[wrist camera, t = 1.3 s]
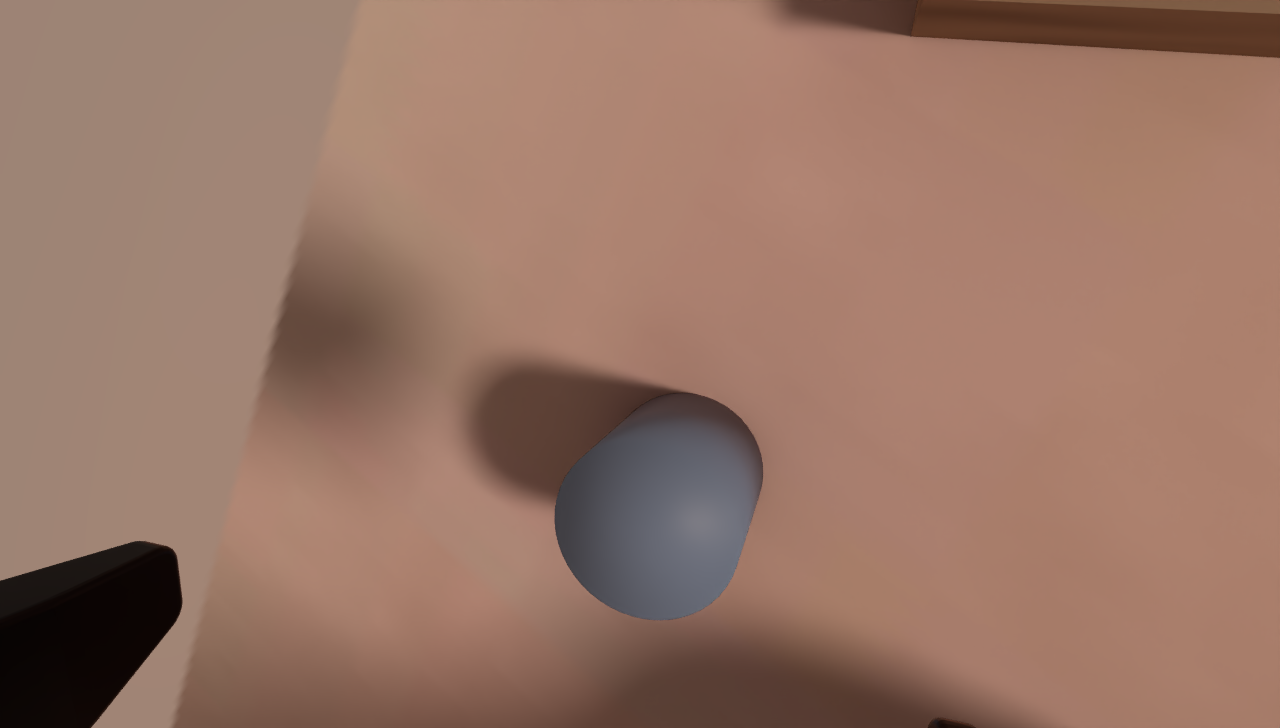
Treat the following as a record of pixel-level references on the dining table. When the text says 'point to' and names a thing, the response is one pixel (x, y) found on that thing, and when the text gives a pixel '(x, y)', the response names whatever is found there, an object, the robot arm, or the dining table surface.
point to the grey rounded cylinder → (661, 507)
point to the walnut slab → (1110, 24)
